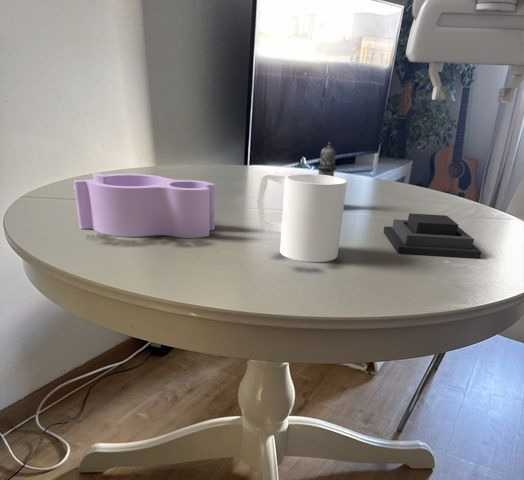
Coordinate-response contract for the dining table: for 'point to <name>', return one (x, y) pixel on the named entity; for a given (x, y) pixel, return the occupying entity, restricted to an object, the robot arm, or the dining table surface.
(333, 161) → the salt shaker
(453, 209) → the dining table surface
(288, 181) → the cup
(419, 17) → the robot arm
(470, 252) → the base pad
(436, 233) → the black pad
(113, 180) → the purple hollow rounded tray
